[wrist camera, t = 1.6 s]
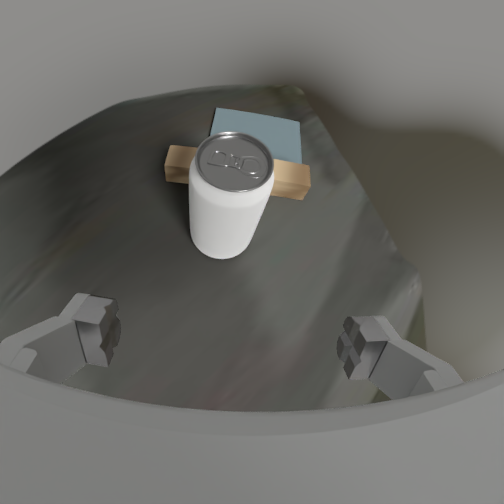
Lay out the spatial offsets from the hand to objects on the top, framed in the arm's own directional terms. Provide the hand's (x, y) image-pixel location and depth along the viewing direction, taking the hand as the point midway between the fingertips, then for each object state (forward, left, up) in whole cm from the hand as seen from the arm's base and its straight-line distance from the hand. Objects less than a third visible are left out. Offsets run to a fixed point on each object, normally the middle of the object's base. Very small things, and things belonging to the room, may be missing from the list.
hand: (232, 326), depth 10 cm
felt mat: (+3, +26, -18) cm, 32 cm away
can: (0, +12, -18) cm, 22 cm away
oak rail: (+1, +19, -18) cm, 26 cm away
